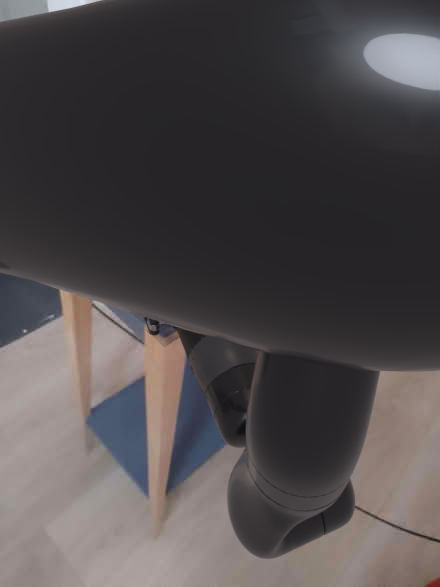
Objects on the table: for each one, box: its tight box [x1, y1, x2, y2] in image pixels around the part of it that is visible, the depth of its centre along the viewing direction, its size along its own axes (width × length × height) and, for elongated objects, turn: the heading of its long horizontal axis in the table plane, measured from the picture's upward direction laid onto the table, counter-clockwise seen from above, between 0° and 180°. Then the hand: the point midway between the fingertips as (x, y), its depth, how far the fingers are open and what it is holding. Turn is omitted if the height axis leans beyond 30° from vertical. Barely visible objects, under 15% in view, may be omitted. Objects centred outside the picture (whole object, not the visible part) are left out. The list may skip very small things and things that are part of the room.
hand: (181, 268), depth 56 cm, fingers open, 8 cm apart
